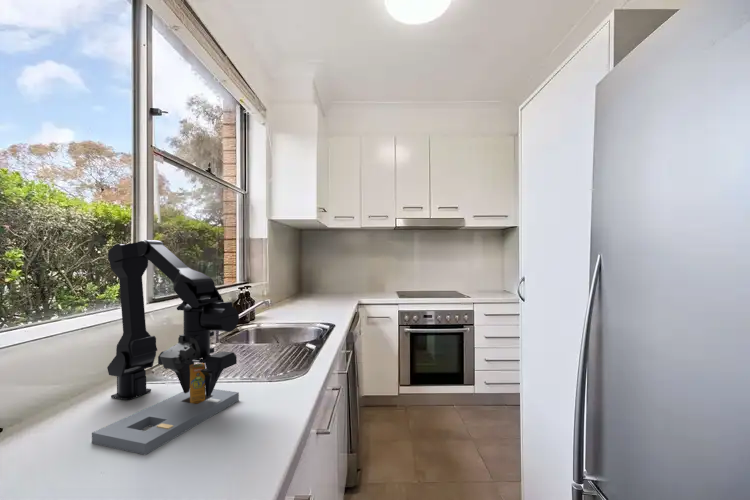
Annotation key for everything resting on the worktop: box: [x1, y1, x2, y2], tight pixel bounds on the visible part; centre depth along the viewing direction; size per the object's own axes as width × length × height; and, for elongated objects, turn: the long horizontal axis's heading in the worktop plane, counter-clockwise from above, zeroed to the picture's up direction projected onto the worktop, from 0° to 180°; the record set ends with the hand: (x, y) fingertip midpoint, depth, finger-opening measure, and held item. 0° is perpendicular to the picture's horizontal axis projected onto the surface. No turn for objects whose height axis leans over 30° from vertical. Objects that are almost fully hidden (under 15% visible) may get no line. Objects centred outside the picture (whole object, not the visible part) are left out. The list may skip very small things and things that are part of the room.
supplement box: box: [190, 363, 206, 404], centre depth 84 cm, size 3×3×10 cm
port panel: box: [91, 388, 240, 455], centre depth 78 cm, size 14×25×2 cm, turn 162°
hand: (197, 394), depth 84 cm, fingers open, 6 cm apart
